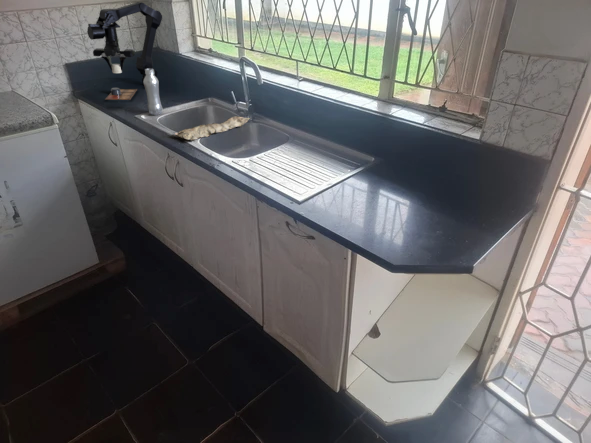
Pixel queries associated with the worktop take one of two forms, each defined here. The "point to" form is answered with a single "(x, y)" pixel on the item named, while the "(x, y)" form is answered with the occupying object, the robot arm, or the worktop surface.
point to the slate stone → (115, 91)
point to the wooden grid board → (122, 95)
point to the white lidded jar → (116, 68)
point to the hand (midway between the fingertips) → (116, 70)
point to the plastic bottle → (152, 92)
